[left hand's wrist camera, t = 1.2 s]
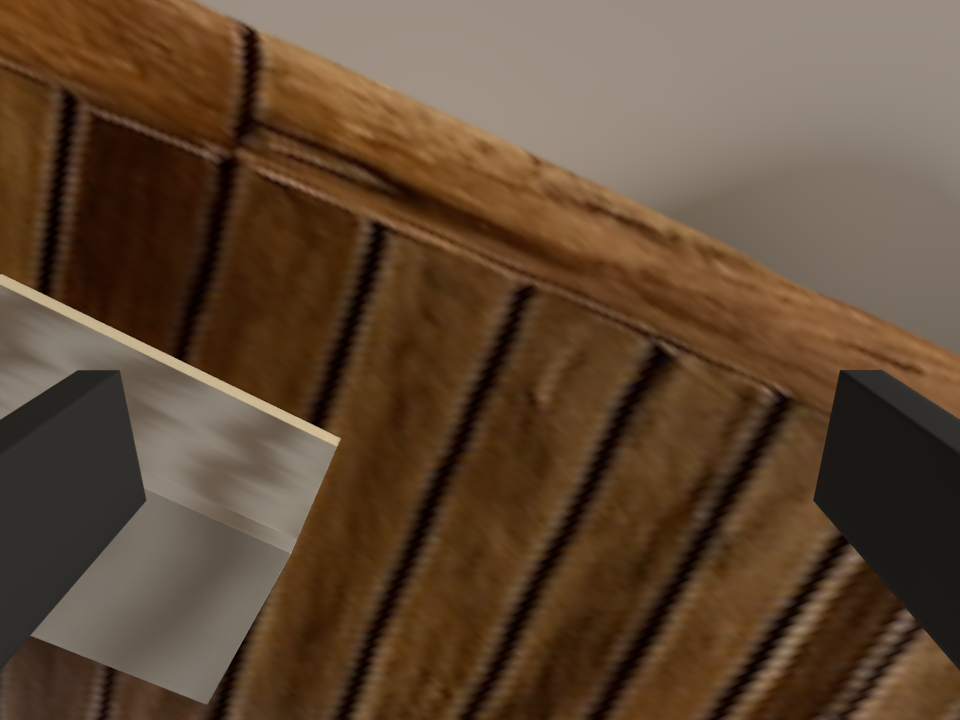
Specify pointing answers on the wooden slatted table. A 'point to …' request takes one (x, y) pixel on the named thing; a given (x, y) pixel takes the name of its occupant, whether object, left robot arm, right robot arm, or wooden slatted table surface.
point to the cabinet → (171, 499)
